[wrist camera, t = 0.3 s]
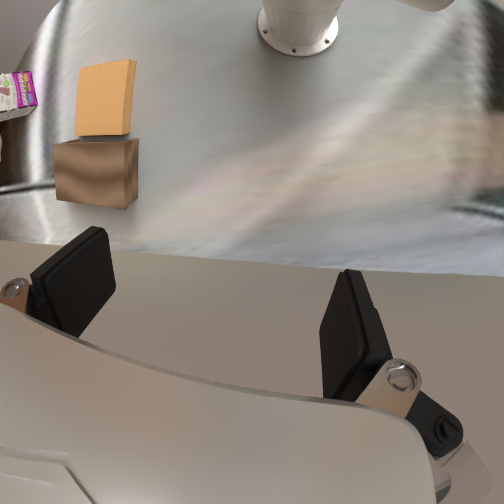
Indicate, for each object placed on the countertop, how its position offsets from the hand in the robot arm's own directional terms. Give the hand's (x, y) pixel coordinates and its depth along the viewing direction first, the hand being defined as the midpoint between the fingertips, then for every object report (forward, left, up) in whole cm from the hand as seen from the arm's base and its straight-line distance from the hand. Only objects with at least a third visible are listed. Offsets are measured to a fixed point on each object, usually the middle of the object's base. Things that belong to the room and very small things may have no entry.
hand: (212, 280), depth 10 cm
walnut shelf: (+5, -32, -36) cm, 48 cm away
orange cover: (-8, -32, -36) cm, 49 cm away
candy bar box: (-13, -59, -36) cm, 70 cm away
